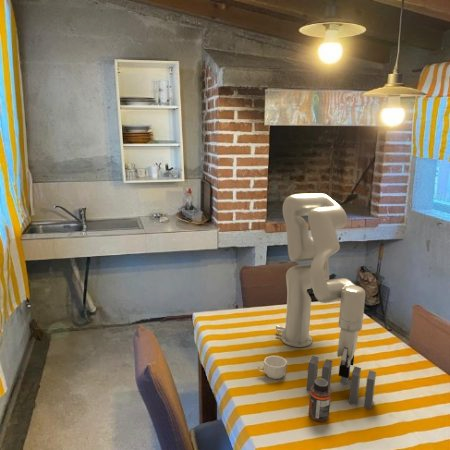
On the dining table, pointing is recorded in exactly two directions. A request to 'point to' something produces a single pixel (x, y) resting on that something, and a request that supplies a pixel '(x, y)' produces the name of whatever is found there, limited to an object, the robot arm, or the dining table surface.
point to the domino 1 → (312, 372)
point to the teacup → (274, 366)
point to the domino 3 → (343, 379)
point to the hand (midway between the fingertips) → (346, 370)
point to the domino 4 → (354, 385)
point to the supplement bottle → (319, 400)
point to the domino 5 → (369, 389)
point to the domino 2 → (327, 371)
